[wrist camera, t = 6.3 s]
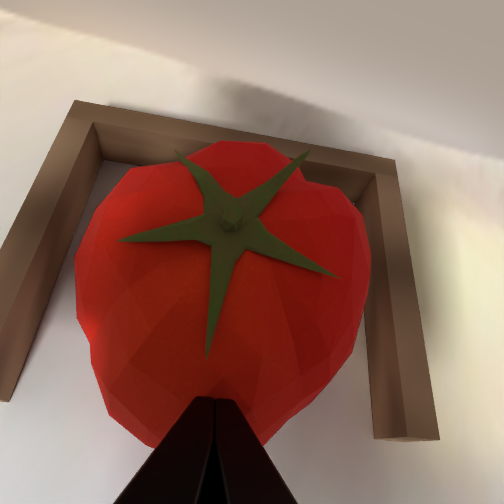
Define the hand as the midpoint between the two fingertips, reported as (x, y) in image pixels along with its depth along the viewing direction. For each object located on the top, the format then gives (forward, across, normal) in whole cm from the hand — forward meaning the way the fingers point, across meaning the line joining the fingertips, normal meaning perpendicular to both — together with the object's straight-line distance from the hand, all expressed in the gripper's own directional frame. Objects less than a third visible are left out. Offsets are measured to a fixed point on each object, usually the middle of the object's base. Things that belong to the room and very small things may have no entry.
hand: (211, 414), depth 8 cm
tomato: (+8, 0, +2) cm, 8 cm away
